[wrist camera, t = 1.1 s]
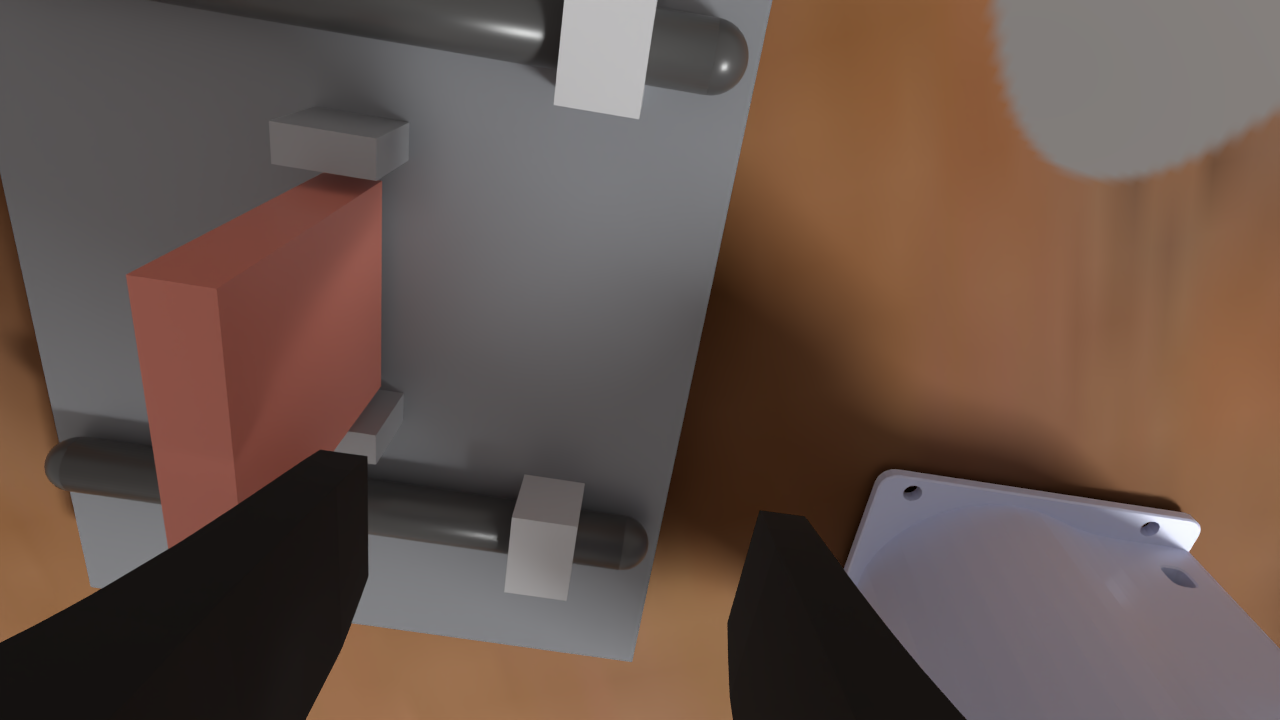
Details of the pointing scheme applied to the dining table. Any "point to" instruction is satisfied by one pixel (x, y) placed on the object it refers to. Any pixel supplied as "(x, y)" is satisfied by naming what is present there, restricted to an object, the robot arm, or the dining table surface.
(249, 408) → the lever
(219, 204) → the box
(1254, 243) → the dining table surface
